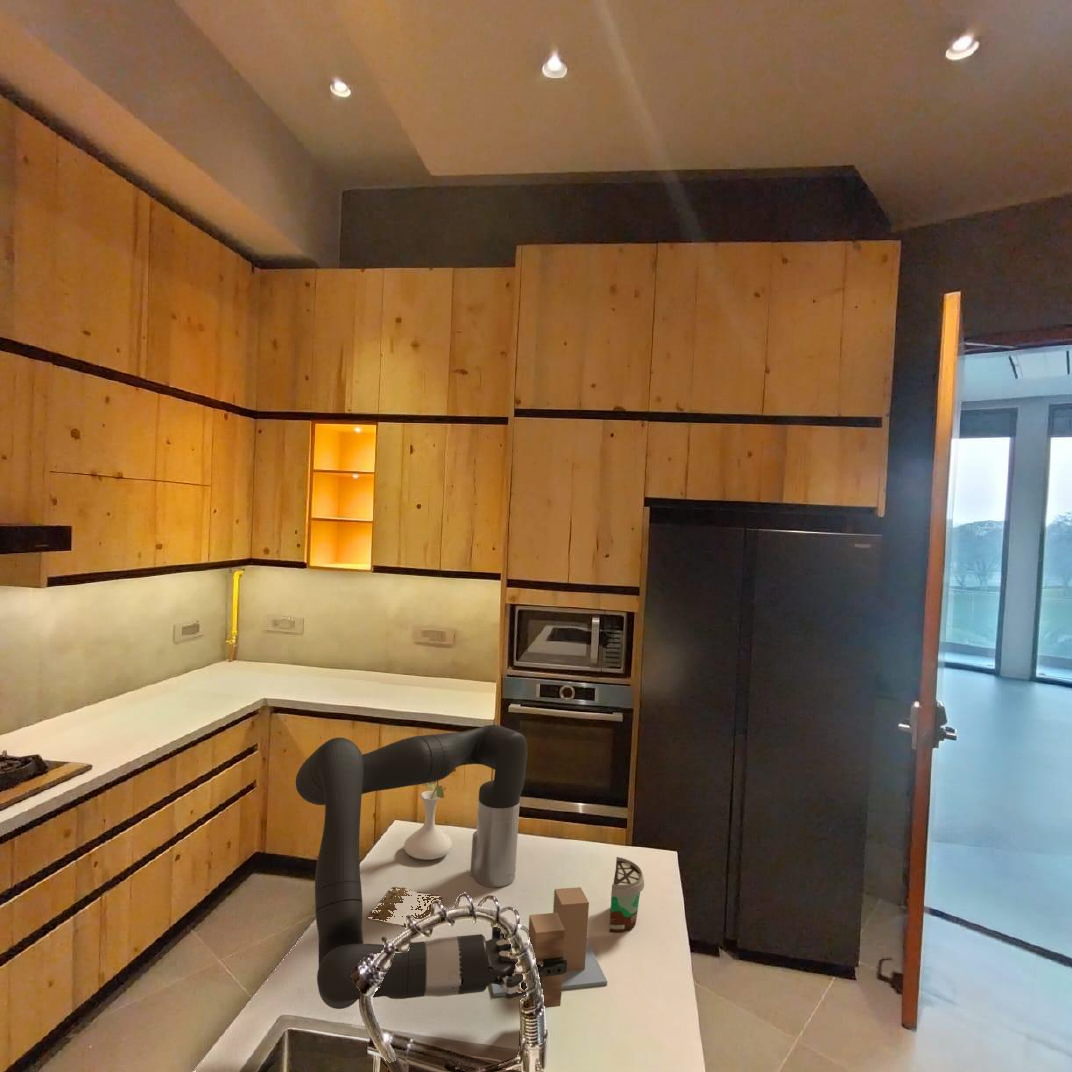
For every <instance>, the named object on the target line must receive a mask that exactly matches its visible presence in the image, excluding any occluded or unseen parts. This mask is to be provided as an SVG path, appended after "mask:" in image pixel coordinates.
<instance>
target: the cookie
mask: <svg viewBox="0 0 1072 1072" xmlns="http://www.w3.org/2000/svg"><path fill="white" fill-rule="evenodd" d="M396 888H397V889H400V890H398V891H397V890H396ZM390 889H393V890H392V891H390ZM390 889H389V890H387V892H388V893H387V892H386V893H385V894H386V895H385V894H384V896H386V897H384V896H383V897H384V898H383V897H382V898H383V899H384V900H383V899H382V898H381V899H382V900H381V899H380V901H379V902H378V903H382V904H381V905H382V906H381V905H379V906H377V905H376V906H377V907H378V908H376V909H374V908H372V910H377V911H378V910H381V911H380V912H379V911H378V913H377V912H376V911H374V912H375V913H374V912H373V913H372V910H371V911H370V912H369V913H370V914H367V916H366V918H367V917H373V918H372V919H379V920H383V921H384V920H385V921H387V920H386V919H388V918H387V917H392V916H393V914H391V913H390V912H389V911H388V910H390V911H392V912H393V911H394V910H397V909H396V908H395V905H394V903H395V904H396V903H403V901H402V900H404V899H402V897H401V896H407V895H408V896H410V895H409V894H407V893H406V892H408V891H406V890H405V889H407V888H406V887H398V886H391V888H390ZM410 890H411V889H410ZM410 890H409V891H410ZM404 891H405V892H404ZM418 892H419V891H417V893H418ZM404 893H405V894H406V895H405V894H404ZM430 894H431V895H427V896H429V897H430V896H440V895H439V894H433V893H430ZM395 896H396V897H395ZM398 896H399V897H400V898H399V897H398ZM411 896H412V895H411ZM418 896H421V895H418ZM425 896H426V895H425ZM429 897H426V898H427V899H423V898H424V897H422V899H423V901H425V900H427V903H428V902H429V901H428V900H431V898H434V897H431V898H429ZM443 898H445V897H443V896H441V897H439V898H434V899H433V900H436V899H439V900H441V903H442V901H443V900H444V899H443ZM417 899H419V898H417ZM442 899H443V900H442ZM400 900H401V901H400ZM433 900H432V901H433ZM417 901H418V900H417ZM432 901H431V903H432ZM418 902H419V903H420V901H418ZM383 903H384V905H383ZM390 903H391V904H390ZM424 903H425V902H424ZM419 905H420V904H419ZM424 906H426V903H425V904H424ZM411 907H412V906H411ZM417 907H418V906H417ZM428 907H429V910H428ZM428 907H427V910H426V911H425V912H424V913H423V914H421V915H419V914H418V916H417V915H416V913H415V916H416V917H414V916H413V915H411V916H413V917H414V918H415V919H422V918H424V917H426V916H428V915H429V914H430V912H431V904H430V905H429V906H428ZM412 908H413V907H412ZM419 908H421V906H419V907H418V908H416V909H415V910H417V909H418V910H421V911H422V910H423V909H419ZM411 910H413V909H411ZM393 913H394V912H393ZM424 914H425V915H424ZM391 915H392V916H391ZM421 916H422V917H421ZM394 917H395V916H394ZM402 917H403V916H402ZM406 917H407V916H406ZM417 917H418V918H417ZM389 919H390V918H389ZM402 927H404V928H407V927H406V924H405V923H404V926H402Z"/></svg>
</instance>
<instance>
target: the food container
mask: <svg viewBox="0 0 1072 1072" xmlns="http://www.w3.org/2000/svg"><path fill="white" fill-rule="evenodd" d="M614 872H615V873H614V877H613V883H612V884H611V892H610V893H611V894H610V897H611V899H610V911H609V912H610V915H609V930H608V931H609V933H613V934H622V933H623V934H624V933H627V932H630V931H631V930H633V929H634V928H635V926H636V924H637V919H638V918H637V917H638V912H639V910H638V909H639V902H640V896H641V892H642V891H643V890H644V888H645V879H644V874H643V872H642V870H641V868H640V867H639V865H637V864H636V863H635V862H633V861H631V860H629V859H628V858H627V859H626V858H624V857H619V856H616V862H615V871H614Z"/></svg>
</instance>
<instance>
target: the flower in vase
mask: <svg viewBox="0 0 1072 1072" xmlns="http://www.w3.org/2000/svg"><path fill="white" fill-rule="evenodd" d="M435 784H436V787H435ZM422 786H423V787H427V788H429V789H430V790H426V791H423V792H421V793H420V797H421V799H422V801H423V803H424V812H425V815H424V822H423V825H422V826H421V827H420V828H419V829H417V830H416V831H414V832H413V833H411V834H410V835H408V836H409V837H407V838H406V840H405V841H404V844H403V850H404V851H405V853H406V854H407V855H408V856H410V857H412V858H415V859H418V860H419V859H420V860H435V859H436V860H437V859H439V858H442V857H445V856H446V855H447V854H448V853H450V851H451V850H452V848H453V842H452V840H451V838H450V837H449V836H448V835H447V834H446V833H445V832H443V830H441V829H440V828H438V827H437V826H436V823H435V816H436V807H437V804H438V802H439V800H440V799H445V795H444V786H443V785H439V781H435V782H430V783H425V784H421V787H422Z"/></svg>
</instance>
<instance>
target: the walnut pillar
mask: <svg viewBox="0 0 1072 1072" xmlns="http://www.w3.org/2000/svg"><path fill="white" fill-rule="evenodd" d="M528 919H529V920H528V932H529V937H530V942H531V944H532V946H533V949H534V953H535V958H536V959H538V960H542V961H543V959H549V958H559V957H563V954H564V936H565V929H564V927H563V925H562V923H561V920H560V918H559V916H558V914H557V913H553V912H550V913H548V912H547V913H537V914H529V918H528ZM561 988H562V974H561V975H554V976H545V977H543V979H542V989H543V995H544V1006H545V1008H544V1009H547V1008H555V1007H561V1004H562V1001H561V1000H562V990H561Z"/></svg>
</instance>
